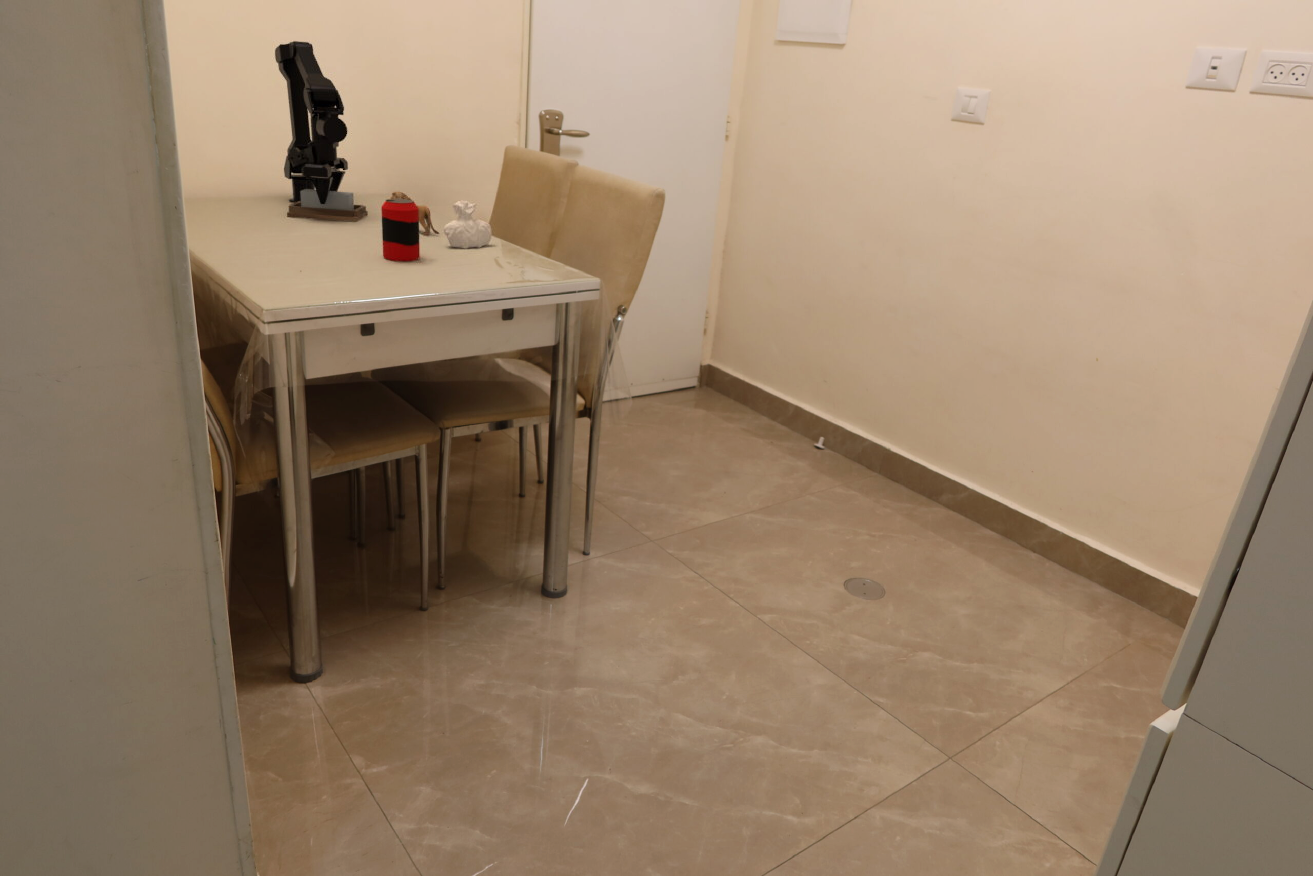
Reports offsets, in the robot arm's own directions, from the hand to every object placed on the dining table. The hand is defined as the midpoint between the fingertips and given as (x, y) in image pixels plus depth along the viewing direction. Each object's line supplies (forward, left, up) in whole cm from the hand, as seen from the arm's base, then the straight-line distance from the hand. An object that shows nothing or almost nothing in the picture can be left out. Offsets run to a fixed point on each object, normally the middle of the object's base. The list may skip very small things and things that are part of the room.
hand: (327, 201), depth 231 cm
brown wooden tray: (0, 0, -4) cm, 4 cm away
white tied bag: (+25, +39, -4) cm, 47 cm away
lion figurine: (+12, +24, -4) cm, 27 cm away
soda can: (+43, +28, -4) cm, 52 cm away
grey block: (0, 0, -2) cm, 2 cm away
